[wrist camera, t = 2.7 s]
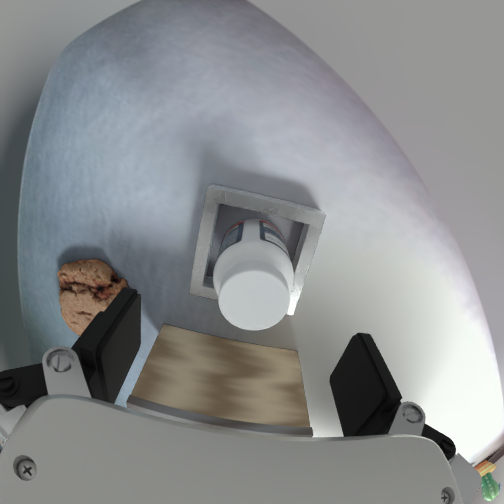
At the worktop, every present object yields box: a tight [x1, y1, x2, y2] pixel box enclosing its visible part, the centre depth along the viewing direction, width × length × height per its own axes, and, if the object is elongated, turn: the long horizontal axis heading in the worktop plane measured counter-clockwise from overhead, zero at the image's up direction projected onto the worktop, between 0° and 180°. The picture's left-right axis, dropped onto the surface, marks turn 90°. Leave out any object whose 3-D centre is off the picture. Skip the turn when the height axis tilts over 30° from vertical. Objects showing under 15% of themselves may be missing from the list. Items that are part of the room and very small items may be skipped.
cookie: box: [57, 259, 129, 336], centre depth 25 cm, size 10×11×3 cm
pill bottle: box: [213, 219, 294, 331], centre depth 19 cm, size 5×5×9 cm
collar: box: [189, 184, 326, 315], centre depth 22 cm, size 9×9×2 cm
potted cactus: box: [475, 460, 501, 501], centre depth 49 cm, size 15×15×25 cm
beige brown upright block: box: [126, 324, 313, 437], centre depth 22 cm, size 14×3×11 cm, turn 77°
